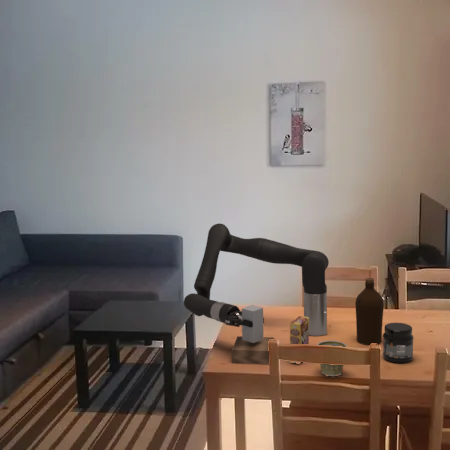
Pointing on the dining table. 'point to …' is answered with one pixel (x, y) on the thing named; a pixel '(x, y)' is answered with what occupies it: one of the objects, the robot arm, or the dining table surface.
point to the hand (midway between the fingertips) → (257, 322)
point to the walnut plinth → (251, 351)
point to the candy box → (299, 331)
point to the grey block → (256, 317)
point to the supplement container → (398, 342)
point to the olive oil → (369, 314)
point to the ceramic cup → (327, 368)
